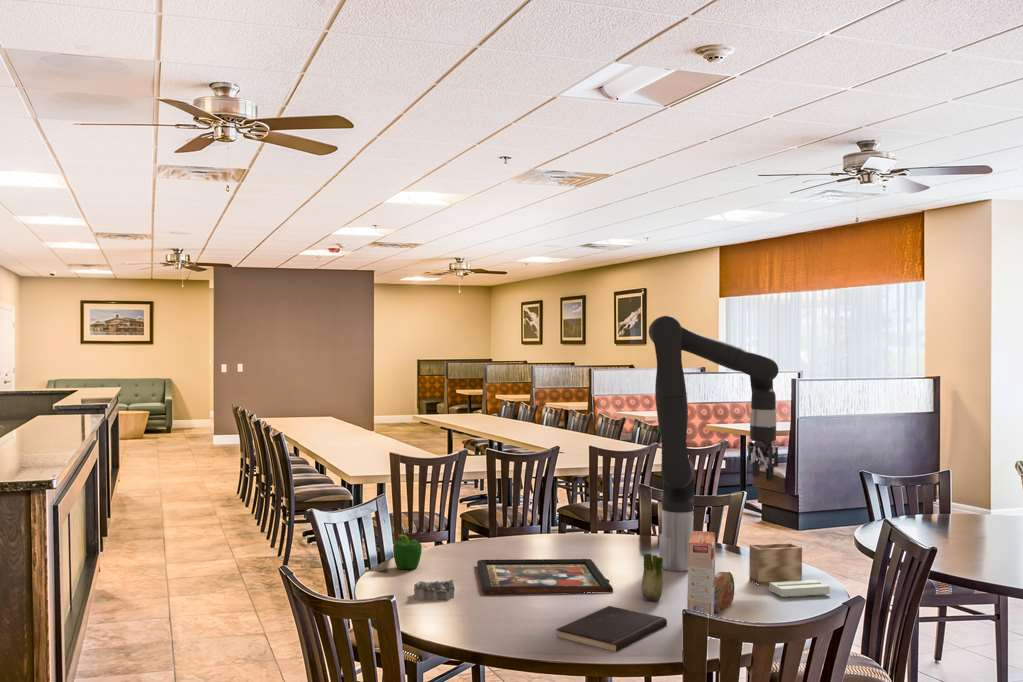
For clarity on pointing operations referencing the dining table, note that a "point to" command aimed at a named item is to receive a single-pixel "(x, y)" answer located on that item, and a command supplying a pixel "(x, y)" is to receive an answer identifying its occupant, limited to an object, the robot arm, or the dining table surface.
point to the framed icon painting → (541, 576)
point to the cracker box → (701, 572)
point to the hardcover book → (612, 628)
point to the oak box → (775, 563)
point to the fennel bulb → (652, 577)
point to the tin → (723, 591)
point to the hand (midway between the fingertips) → (762, 478)
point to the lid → (799, 588)
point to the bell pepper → (407, 553)
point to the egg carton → (434, 590)
